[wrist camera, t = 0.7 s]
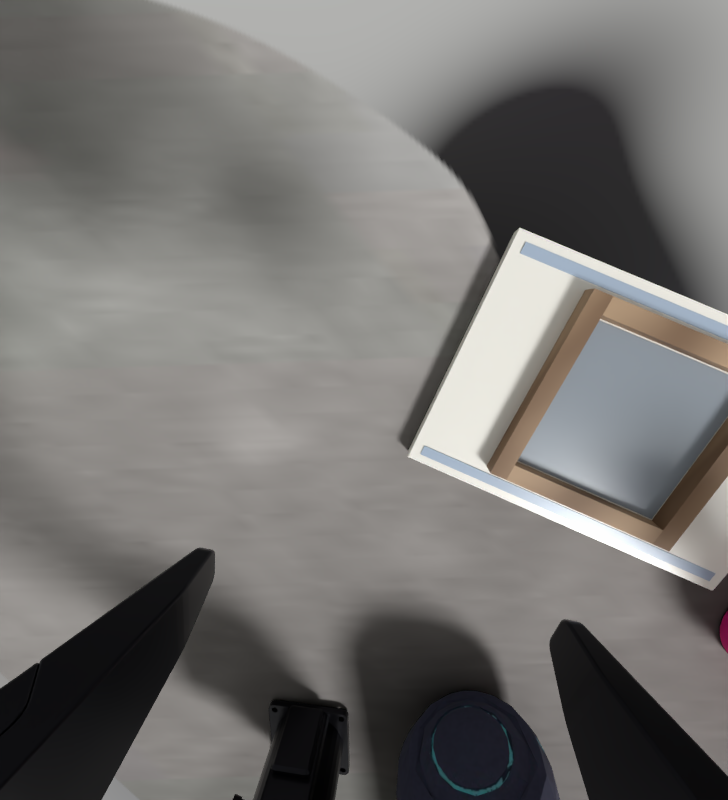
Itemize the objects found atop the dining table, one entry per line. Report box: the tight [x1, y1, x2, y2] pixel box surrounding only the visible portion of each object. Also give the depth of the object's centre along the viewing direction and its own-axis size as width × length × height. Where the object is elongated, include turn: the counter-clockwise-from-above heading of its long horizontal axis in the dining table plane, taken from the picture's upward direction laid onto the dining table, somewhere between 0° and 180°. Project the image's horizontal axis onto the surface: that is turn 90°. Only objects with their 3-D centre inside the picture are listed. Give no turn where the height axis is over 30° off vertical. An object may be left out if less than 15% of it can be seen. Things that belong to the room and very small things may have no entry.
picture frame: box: [408, 228, 728, 591], centre depth 20 cm, size 20×14×1 cm
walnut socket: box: [487, 288, 728, 551], centre depth 19 cm, size 11×11×1 cm
